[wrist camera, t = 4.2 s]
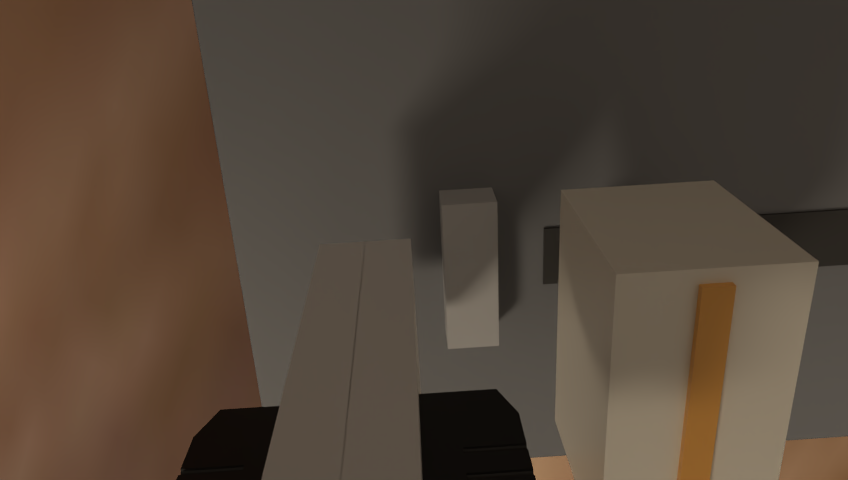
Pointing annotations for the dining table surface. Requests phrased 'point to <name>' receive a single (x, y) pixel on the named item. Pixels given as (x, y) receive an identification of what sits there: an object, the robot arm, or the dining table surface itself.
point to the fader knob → (676, 334)
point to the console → (519, 160)
